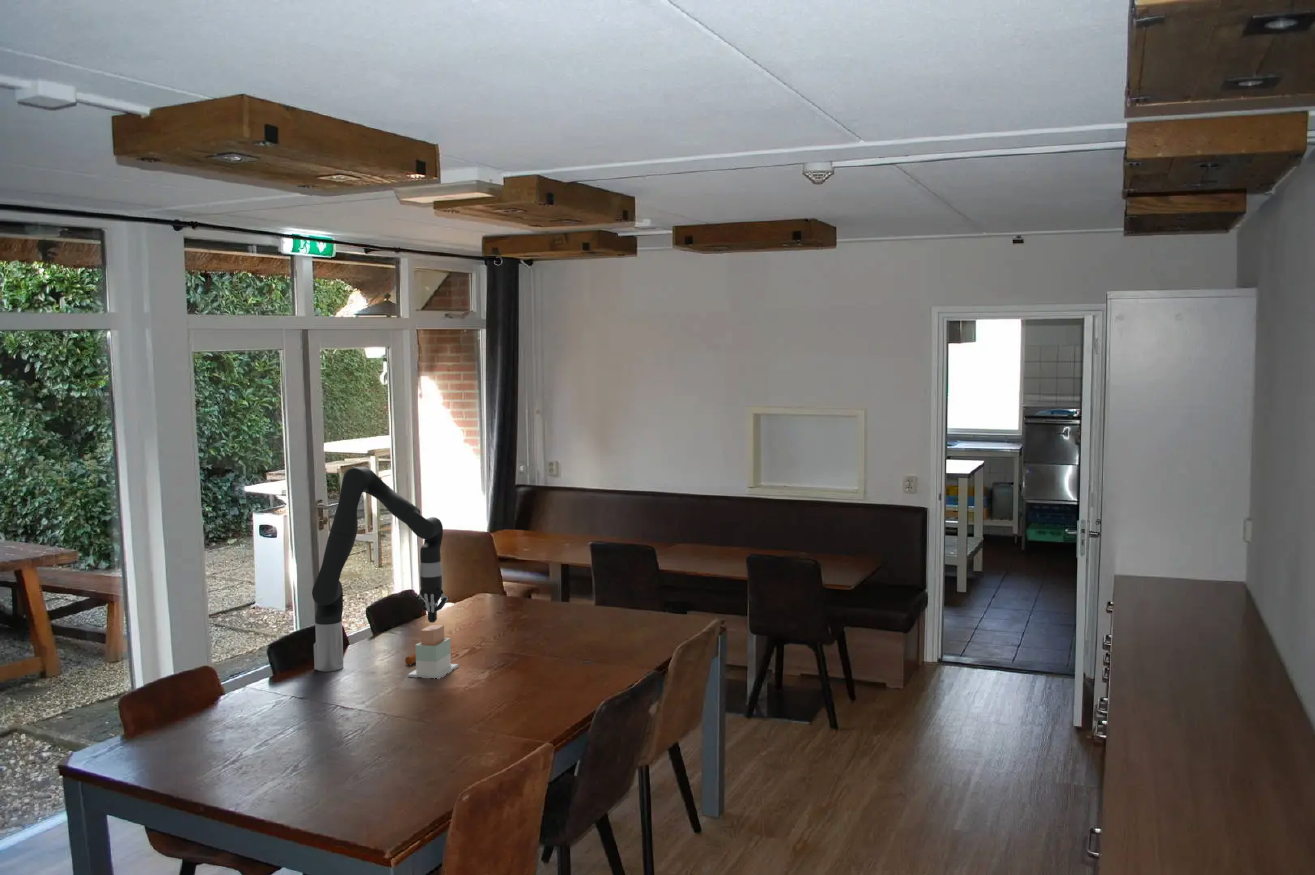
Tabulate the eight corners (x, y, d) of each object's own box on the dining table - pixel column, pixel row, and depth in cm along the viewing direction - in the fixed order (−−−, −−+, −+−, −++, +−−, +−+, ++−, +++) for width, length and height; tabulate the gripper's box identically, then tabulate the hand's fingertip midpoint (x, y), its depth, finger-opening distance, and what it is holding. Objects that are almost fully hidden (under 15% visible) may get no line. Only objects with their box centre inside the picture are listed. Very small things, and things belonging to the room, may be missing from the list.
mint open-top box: (439, 679, 367) (438, 648, 366) (408, 676, 370) (407, 646, 369) (458, 667, 382) (457, 637, 381) (428, 664, 385) (427, 635, 384)
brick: (434, 647, 371) (433, 631, 370) (421, 647, 372) (420, 630, 372) (444, 641, 378) (443, 625, 378) (431, 641, 380) (431, 624, 379)
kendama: (400, 653, 386) (434, 636, 404) (404, 669, 386) (438, 651, 404) (413, 652, 383) (446, 635, 401) (416, 668, 384) (450, 650, 401)
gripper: (452, 572, 375) (454, 620, 377) (419, 571, 379) (420, 618, 380) (443, 577, 368) (444, 625, 369) (409, 575, 371) (410, 623, 373)
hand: (432, 622), depth 375 cm, fingers closed
